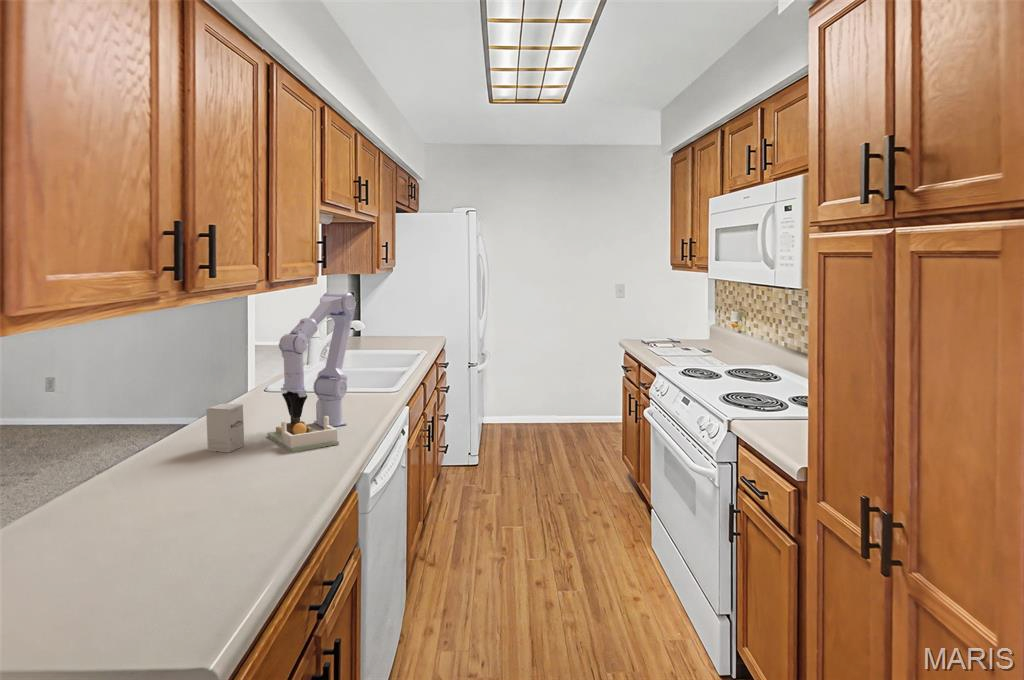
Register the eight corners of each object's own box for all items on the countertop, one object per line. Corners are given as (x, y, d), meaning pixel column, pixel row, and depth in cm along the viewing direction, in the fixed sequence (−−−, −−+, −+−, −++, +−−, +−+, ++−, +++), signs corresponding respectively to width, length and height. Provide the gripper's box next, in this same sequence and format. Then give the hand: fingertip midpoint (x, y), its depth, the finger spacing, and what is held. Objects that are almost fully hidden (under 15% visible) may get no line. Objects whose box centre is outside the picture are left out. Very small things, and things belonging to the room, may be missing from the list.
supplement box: (230, 453, 194) (228, 409, 193) (207, 451, 196) (205, 408, 194) (245, 446, 201) (243, 403, 200) (222, 444, 203) (221, 402, 201)
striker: (286, 432, 212) (285, 407, 211) (302, 430, 215) (301, 405, 214) (289, 434, 209) (288, 408, 209) (305, 432, 212) (304, 406, 212)
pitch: (266, 436, 212) (265, 414, 211) (311, 429, 221) (311, 408, 220) (291, 452, 195) (290, 428, 194) (339, 444, 204) (339, 421, 203)
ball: (291, 435, 210) (290, 422, 209) (303, 433, 212) (303, 420, 212) (295, 438, 207) (295, 425, 206) (308, 436, 209) (308, 423, 208)
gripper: (273, 370, 213) (274, 413, 215) (289, 377, 202) (290, 422, 203) (295, 368, 217) (296, 410, 219) (312, 375, 206) (313, 419, 208)
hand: (295, 416), depth 211 cm, fingers closed on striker, 3 cm apart
